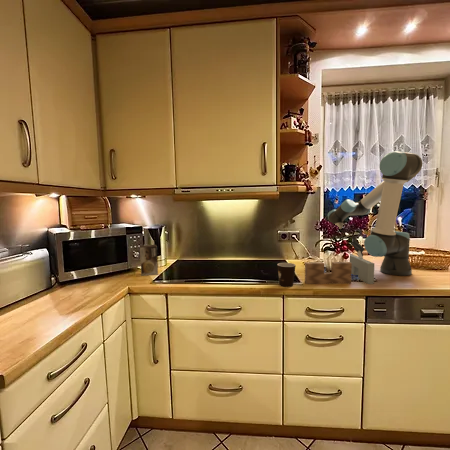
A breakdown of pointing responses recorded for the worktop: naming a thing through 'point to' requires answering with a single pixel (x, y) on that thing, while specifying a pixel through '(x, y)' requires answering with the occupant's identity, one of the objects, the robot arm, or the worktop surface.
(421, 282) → the worktop surface
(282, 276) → the coffee mug
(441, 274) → the worktop surface
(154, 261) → the coffee box
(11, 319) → the worktop surface
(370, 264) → the grey plain narrow board
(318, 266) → the walnut slotted board
